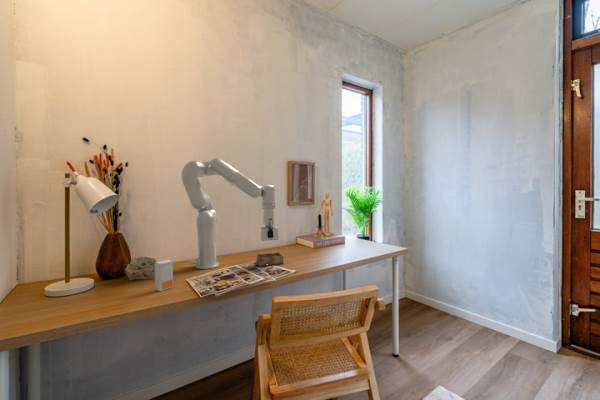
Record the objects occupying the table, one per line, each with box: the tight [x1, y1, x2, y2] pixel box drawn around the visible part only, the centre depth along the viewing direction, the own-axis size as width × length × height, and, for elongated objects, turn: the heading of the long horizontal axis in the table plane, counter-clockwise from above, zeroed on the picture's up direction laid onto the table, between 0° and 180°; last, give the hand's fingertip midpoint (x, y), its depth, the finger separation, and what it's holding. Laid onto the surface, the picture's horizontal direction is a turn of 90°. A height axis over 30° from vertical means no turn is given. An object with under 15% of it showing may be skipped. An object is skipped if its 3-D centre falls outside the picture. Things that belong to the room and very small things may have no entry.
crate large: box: [256, 252, 284, 266], centre depth 161 cm, size 14×10×4 cm
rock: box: [124, 256, 157, 281], centre depth 140 cm, size 21×14×10 cm
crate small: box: [260, 225, 279, 242], centre depth 160 cm, size 9×6×7 cm
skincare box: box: [154, 259, 174, 292], centre depth 120 cm, size 6×4×12 cm
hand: (269, 236), depth 161 cm, fingers closed on crate small, 6 cm apart
